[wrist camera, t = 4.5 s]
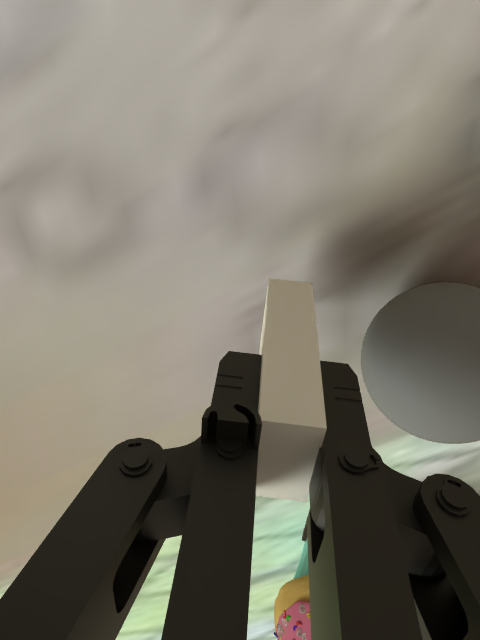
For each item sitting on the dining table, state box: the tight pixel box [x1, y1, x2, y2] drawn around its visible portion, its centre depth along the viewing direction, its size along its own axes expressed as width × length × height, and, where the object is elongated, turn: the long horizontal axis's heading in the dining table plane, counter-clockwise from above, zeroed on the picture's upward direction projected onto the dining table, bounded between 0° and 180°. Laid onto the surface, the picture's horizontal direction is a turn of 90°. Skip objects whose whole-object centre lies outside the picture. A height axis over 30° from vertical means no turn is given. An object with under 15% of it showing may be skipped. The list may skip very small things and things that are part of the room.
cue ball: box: [361, 282, 480, 444], centre depth 15 cm, size 6×6×6 cm
